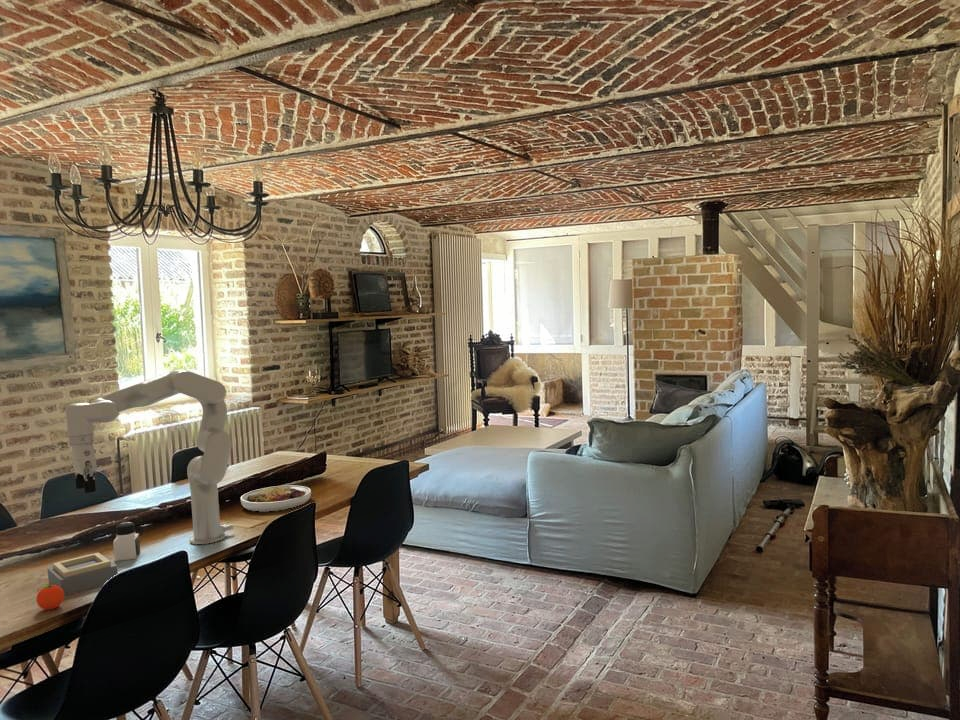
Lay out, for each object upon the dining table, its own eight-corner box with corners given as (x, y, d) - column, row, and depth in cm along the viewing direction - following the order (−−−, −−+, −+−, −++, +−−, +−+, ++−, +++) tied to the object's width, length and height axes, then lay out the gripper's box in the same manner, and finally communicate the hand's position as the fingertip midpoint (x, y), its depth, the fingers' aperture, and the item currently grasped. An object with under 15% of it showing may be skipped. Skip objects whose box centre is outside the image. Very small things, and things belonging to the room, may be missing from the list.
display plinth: (103, 569, 237) (101, 550, 236) (118, 580, 225) (116, 560, 225) (48, 583, 226) (47, 563, 225) (61, 596, 214) (60, 575, 214)
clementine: (28, 613, 202) (26, 589, 202) (46, 603, 209) (44, 580, 209) (53, 614, 201) (50, 589, 200) (70, 604, 208) (68, 580, 207)
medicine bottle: (136, 558, 246) (134, 525, 246) (114, 561, 244) (111, 527, 244) (140, 552, 253) (138, 519, 252) (118, 555, 251) (116, 522, 250)
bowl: (226, 510, 306) (224, 493, 305) (275, 493, 332) (274, 477, 332) (278, 517, 292) (277, 498, 292) (325, 498, 319) (324, 481, 318)
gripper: (101, 440, 232) (106, 491, 233) (86, 435, 244) (90, 484, 246) (76, 444, 227) (81, 496, 228) (61, 439, 239) (66, 488, 240)
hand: (85, 490), depth 237 cm, fingers open, 9 cm apart
